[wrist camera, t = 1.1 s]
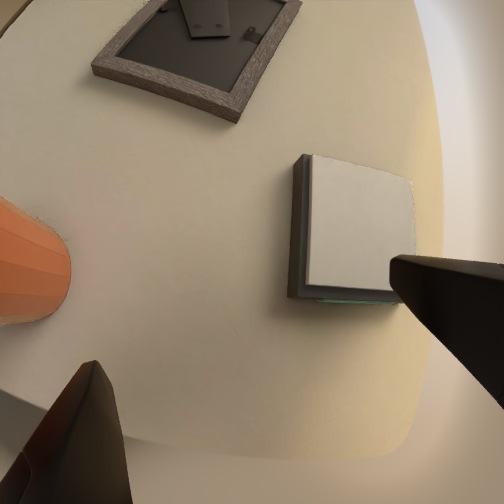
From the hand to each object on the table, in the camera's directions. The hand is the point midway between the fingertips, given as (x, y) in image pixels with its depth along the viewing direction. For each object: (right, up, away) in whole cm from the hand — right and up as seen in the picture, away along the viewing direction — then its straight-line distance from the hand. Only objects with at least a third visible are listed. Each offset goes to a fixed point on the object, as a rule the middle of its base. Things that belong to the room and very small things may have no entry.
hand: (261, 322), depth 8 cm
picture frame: (-4, +22, +16) cm, 28 cm away
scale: (+7, +3, +16) cm, 18 cm away
